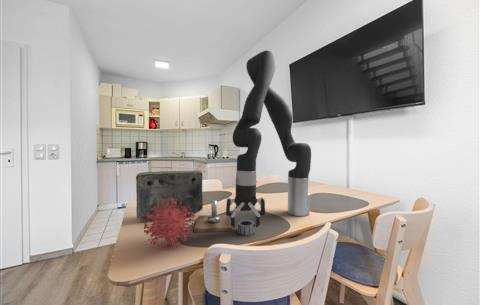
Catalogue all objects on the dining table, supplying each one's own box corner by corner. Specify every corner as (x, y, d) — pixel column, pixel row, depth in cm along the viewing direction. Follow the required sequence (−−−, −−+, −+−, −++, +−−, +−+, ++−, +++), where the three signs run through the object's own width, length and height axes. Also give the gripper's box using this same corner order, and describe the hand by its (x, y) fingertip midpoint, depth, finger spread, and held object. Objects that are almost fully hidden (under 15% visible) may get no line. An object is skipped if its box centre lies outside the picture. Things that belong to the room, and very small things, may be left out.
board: (230, 217, 89) (230, 214, 89) (232, 231, 75) (232, 227, 75) (198, 218, 87) (198, 215, 87) (194, 232, 73) (194, 228, 73)
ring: (252, 228, 78) (253, 219, 77) (255, 235, 71) (255, 226, 71) (236, 228, 77) (237, 220, 77) (238, 235, 71) (238, 226, 71)
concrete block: (200, 211, 97) (200, 169, 96) (203, 217, 89) (203, 172, 88) (138, 217, 88) (138, 171, 87) (135, 225, 79) (135, 174, 79)
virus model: (147, 265, 53) (147, 209, 52) (141, 242, 65) (141, 196, 65) (201, 250, 61) (201, 201, 60) (186, 232, 73) (186, 191, 73)
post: (220, 218, 84) (220, 199, 83) (219, 223, 79) (220, 202, 79) (208, 219, 83) (208, 199, 83) (207, 223, 78) (207, 202, 78)
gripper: (263, 181, 78) (262, 222, 79) (226, 180, 77) (225, 223, 77) (267, 184, 71) (266, 230, 71) (226, 184, 69) (225, 231, 70)
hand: (245, 226), depth 74 cm, fingers open, 8 cm apart
